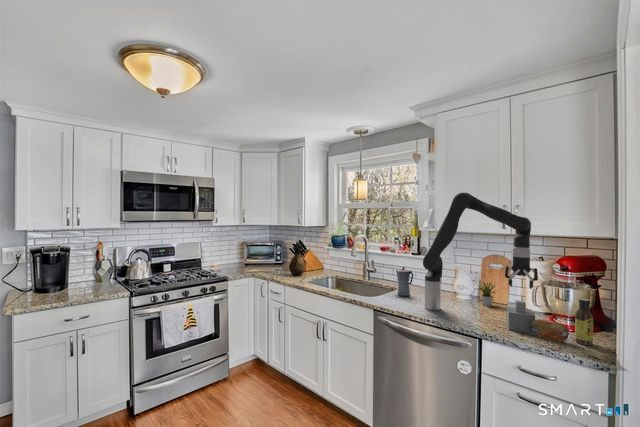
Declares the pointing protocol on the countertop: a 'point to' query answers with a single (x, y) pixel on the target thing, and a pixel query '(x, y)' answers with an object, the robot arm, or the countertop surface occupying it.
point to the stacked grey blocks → (519, 317)
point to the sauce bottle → (584, 323)
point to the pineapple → (297, 262)
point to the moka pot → (404, 282)
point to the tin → (549, 330)
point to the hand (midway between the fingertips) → (520, 287)
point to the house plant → (487, 294)
